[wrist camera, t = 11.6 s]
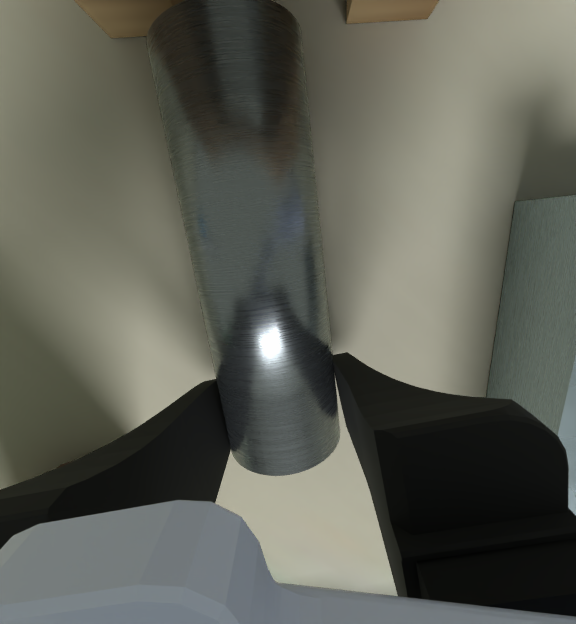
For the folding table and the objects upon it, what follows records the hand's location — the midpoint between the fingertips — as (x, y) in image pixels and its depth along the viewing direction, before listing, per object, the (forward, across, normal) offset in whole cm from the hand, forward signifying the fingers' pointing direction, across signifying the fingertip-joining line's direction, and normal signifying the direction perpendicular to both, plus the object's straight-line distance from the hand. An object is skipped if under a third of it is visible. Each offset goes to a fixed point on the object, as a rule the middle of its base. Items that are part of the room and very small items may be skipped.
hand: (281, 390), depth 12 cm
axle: (+1, 0, -5) cm, 5 cm away
